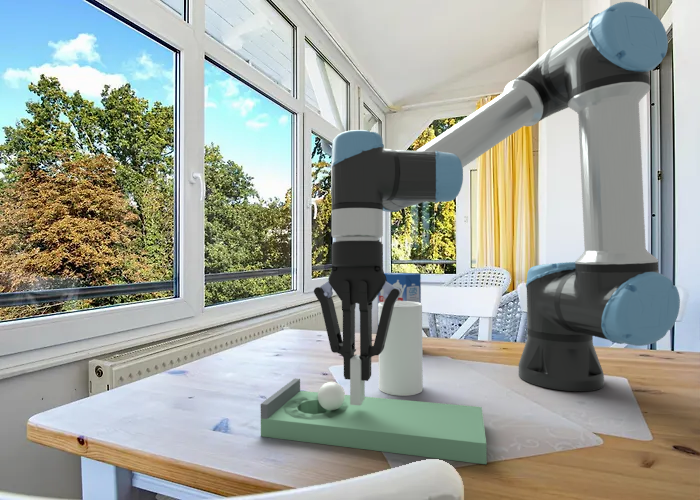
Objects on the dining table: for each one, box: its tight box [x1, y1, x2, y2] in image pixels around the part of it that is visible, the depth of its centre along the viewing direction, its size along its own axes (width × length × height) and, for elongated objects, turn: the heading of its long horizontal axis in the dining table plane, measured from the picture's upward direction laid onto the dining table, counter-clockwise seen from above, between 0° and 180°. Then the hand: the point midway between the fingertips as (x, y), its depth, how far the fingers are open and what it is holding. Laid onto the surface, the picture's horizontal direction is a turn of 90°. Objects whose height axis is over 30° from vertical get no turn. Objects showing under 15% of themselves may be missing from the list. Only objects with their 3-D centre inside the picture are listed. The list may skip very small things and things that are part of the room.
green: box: [260, 378, 488, 465], centre depth 59 cm, size 30×12×4 cm, turn 75°
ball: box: [317, 381, 346, 410], centre depth 60 cm, size 4×4×4 cm
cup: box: [377, 301, 424, 397], centre depth 77 cm, size 8×8×16 cm
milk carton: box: [377, 272, 422, 305], centre depth 109 cm, size 10×6×20 cm, turn 43°
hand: (357, 401), depth 59 cm, fingers closed
